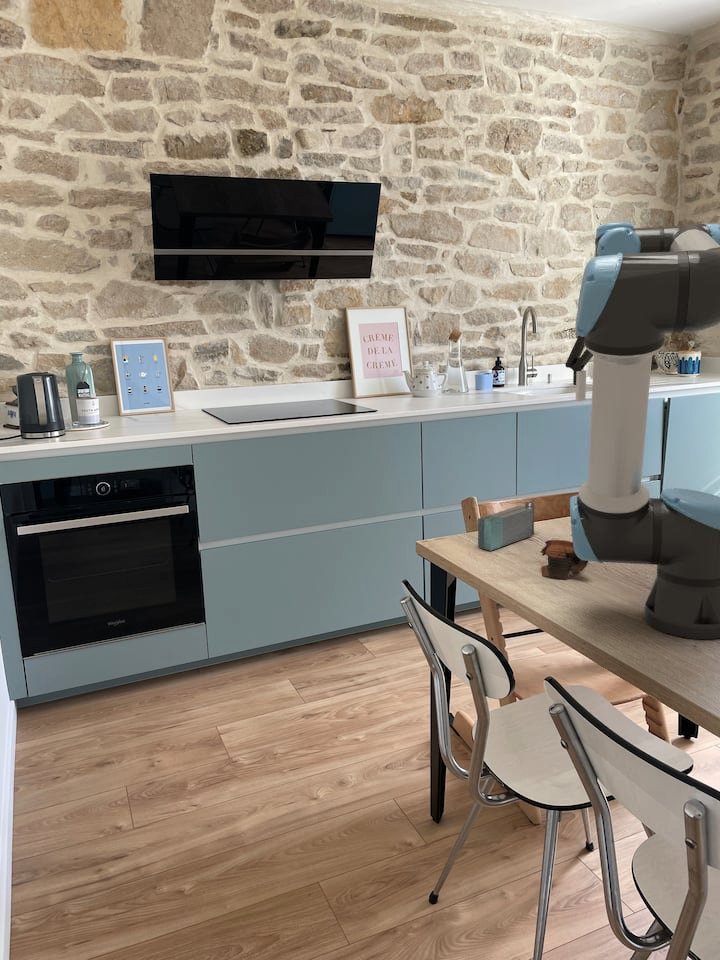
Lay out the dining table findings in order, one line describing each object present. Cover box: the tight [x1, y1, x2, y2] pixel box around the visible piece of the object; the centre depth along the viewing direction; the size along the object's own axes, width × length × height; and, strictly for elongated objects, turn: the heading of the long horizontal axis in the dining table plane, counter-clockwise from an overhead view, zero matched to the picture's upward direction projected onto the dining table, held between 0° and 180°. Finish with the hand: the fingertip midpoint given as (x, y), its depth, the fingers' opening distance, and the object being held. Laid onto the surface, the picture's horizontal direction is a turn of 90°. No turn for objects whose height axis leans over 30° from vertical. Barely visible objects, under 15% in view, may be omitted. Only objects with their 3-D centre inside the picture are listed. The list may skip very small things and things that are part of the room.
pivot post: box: [524, 501, 535, 536], centre depth 185 cm, size 2×2×8 cm
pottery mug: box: [540, 539, 589, 580], centre depth 157 cm, size 12×10×8 cm
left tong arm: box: [477, 505, 525, 550], centre depth 180 cm, size 16×2×7 cm, turn 132°
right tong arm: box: [483, 506, 533, 551], centre depth 178 cm, size 16×2×7 cm, turn 131°
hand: (608, 402), depth 160 cm, fingers open, 13 cm apart
